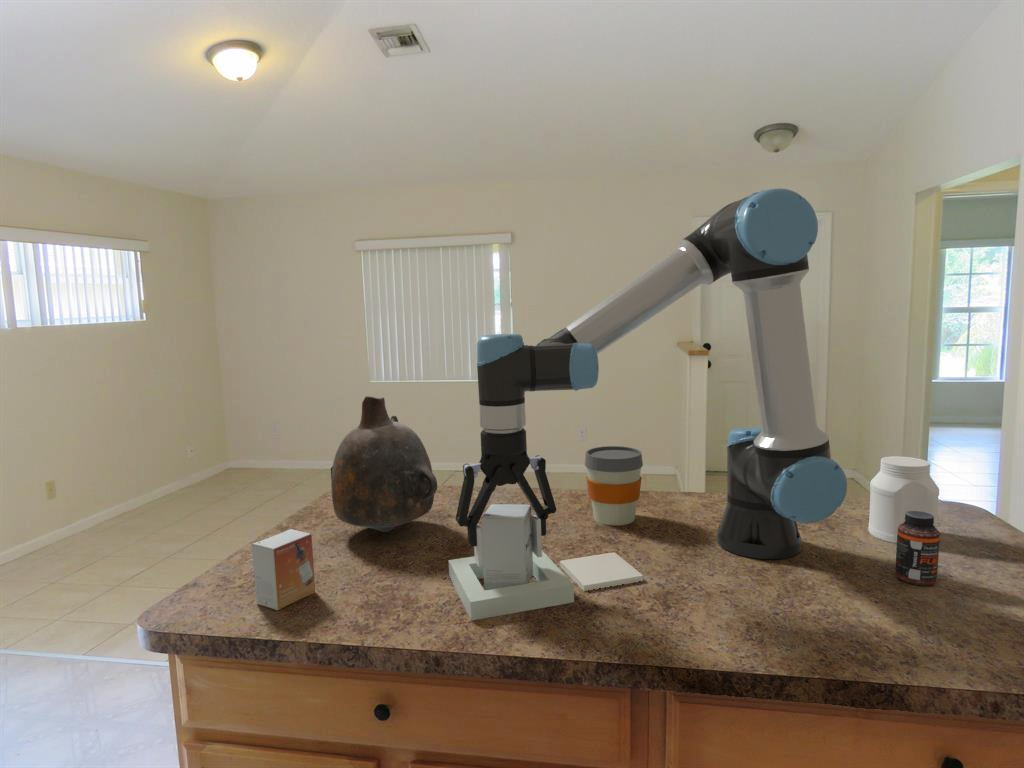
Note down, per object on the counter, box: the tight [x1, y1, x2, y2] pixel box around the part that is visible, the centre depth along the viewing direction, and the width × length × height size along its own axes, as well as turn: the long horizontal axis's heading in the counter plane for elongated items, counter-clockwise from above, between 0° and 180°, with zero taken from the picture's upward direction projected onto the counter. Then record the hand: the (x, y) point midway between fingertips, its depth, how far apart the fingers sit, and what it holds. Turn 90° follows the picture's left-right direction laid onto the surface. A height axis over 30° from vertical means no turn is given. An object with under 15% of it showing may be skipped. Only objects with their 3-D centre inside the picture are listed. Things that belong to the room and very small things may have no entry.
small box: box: [251, 528, 316, 611], centre depth 106 cm, size 8×6×10 cm
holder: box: [447, 547, 575, 622], centre depth 107 cm, size 17×17×3 cm
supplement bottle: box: [894, 511, 941, 587], centre depth 105 cm, size 6×6×11 cm
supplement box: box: [480, 503, 533, 591], centre depth 106 cm, size 7×7×13 cm
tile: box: [559, 551, 644, 592], centre depth 112 cm, size 11×11×1 cm
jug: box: [330, 395, 438, 533], centre depth 135 cm, size 24×21×30 cm
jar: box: [868, 455, 940, 544], centre depth 125 cm, size 12×10×15 cm
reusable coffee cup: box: [584, 445, 644, 526], centre depth 139 cm, size 13×13×15 cm
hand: (508, 558), depth 107 cm, fingers closed on supplement box, 10 cm apart
